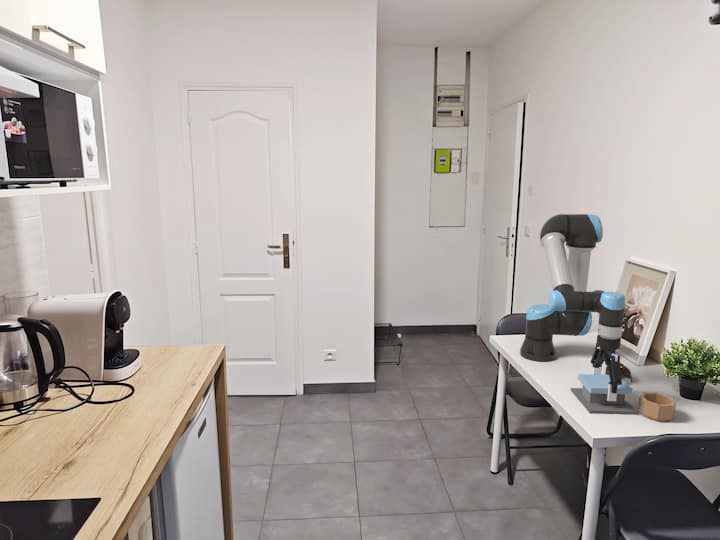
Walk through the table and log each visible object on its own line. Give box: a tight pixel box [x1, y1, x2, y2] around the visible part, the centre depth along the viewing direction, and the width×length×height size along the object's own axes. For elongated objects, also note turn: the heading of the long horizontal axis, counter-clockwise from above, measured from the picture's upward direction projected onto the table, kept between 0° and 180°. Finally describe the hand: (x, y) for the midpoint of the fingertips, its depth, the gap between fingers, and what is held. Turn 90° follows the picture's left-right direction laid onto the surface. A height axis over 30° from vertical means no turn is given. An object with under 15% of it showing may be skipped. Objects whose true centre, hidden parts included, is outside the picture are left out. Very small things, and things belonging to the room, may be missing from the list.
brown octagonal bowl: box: [637, 391, 677, 422], centre depth 165 cm, size 10×10×6 cm
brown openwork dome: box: [604, 362, 633, 383], centre depth 195 cm, size 12×10×8 cm
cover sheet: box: [577, 373, 634, 395], centre depth 174 cm, size 12×14×2 cm
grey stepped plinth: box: [570, 384, 639, 415], centre depth 175 cm, size 18×16×6 cm
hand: (603, 392), depth 175 cm, fingers open, 12 cm apart
